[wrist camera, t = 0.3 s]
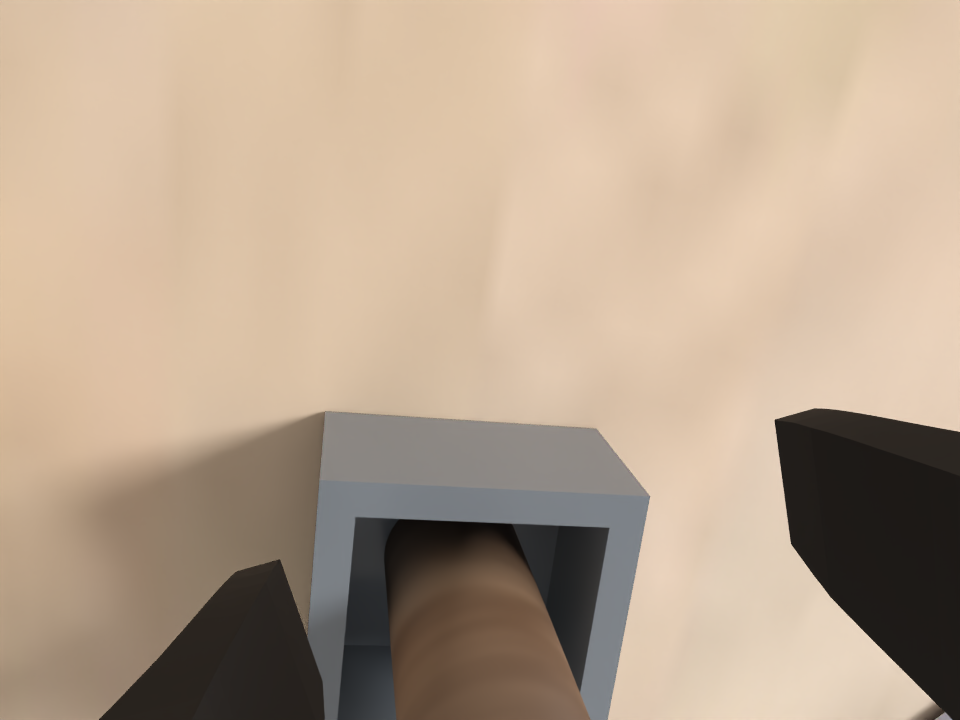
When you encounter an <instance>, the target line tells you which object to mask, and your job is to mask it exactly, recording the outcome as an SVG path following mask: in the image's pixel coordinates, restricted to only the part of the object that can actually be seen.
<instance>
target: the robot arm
mask: <svg viewBox="0 0 960 720" xmlns="http://www.w3.org/2000/svg"><path fill="white" fill-rule="evenodd" d="M775 427H776V434H777V442H778V449H779V457H780V464H781V472H782V479H783V487H784V494H785V502H786V509H787V517H788V524H789V532H790V539H791V544H792V546H793V547H794V549H795V550H796V551H797V553H798V554H799V555H800V557H801V558H802V560H803V561H804V562H805V564H806V565H807V567H808V568H809V569H810V571H811V572H812V574H813V575H814V576H815V577H816V579H817V580H818V581H819V583H820V584H821V585H822V586H823V588H824V589H825V590H826V592H827V593H828V594H829V596H830V597H831V598H832V599H833V600H834V601H835V602H836V603H837V604H838V605H839V606H840V607H841V608H842V609H843V610H844V611H845V612H846V613H847V614H848V616H849V617H850V618H851V619H852V620H853V621H854V622H855V623H856V624H857V625H858V626H859V627H860V628H861V629H862V630H863V631H864V632H865V633H866V634H867V635H868V636H869V637H870V638H871V639H872V640H873V641H874V642H875V643H876V644H877V645H878V646H879V647H880V648H881V649H882V650H883V651H884V652H885V653H886V654H887V655H888V656H889V657H890V658H891V659H892V660H893V661H894V662H895V663H896V664H897V665H898V666H899V667H900V668H901V669H902V670H903V671H904V672H905V673H906V674H907V675H908V676H909V677H910V678H911V679H912V680H913V681H914V682H915V683H916V684H917V685H918V686H919V687H920V688H921V689H922V690H923V691H924V692H925V693H926V694H927V695H928V696H929V697H930V698H931V699H932V700H933V701H934V702H935V703H936V704H937V705H938V706H939V707H940V708H941V709H942V710H943V711H944V713H943V714H942V715H940V716H939V717H938V718H936V719H935V720H960V432H957V431H951V430H946V429H940V428H935V427H930V426H924V425H919V424H914V423H908V422H903V421H898V420H893V419H887V418H882V417H877V416H871V415H866V414H860V413H853V412H847V411H840V410H832V409H811V410H807V411H804V412H800V413H797V414H793V415H790V416H786V417H783V418H779V419H776V420H775ZM99 720H325V712H324V695H323V681H322V678H321V675H320V672H319V669H318V667H317V664H316V661H315V658H314V655H313V652H312V649H311V647H310V644H309V641H308V638H307V635H306V632H305V629H304V627H303V624H302V621H301V618H300V615H299V612H298V610H297V607H296V604H295V601H294V598H293V595H292V592H291V590H290V587H289V584H288V581H287V578H286V575H285V573H284V570H283V567H282V564H281V561H280V560H276V561H272V562H269V563H265V564H262V565H258V566H255V567H251V568H248V569H244V570H241V571H237V572H235V573H234V574H233V575H232V576H231V577H230V578H229V579H228V580H227V581H226V582H225V583H224V584H223V585H222V586H221V587H220V588H219V590H218V591H217V592H216V593H215V594H214V595H213V596H212V597H211V599H210V600H209V601H208V602H207V603H206V604H205V605H204V607H203V608H202V609H201V610H200V611H199V612H198V614H197V615H196V616H195V617H194V618H193V619H192V621H191V622H190V623H189V624H188V625H187V626H186V627H185V629H184V630H183V631H182V632H181V633H180V634H179V635H178V636H177V638H176V639H175V640H174V641H173V642H172V643H171V644H170V646H169V647H168V648H167V649H166V650H165V651H164V652H163V654H162V655H161V656H160V657H159V658H158V659H157V660H156V661H155V662H154V663H153V664H152V665H151V666H150V668H149V669H148V670H147V671H146V672H145V673H144V674H143V675H142V676H141V677H140V678H139V679H138V680H137V681H136V682H135V683H134V684H133V685H132V686H131V687H130V688H129V689H128V690H127V691H126V693H125V694H124V695H123V696H122V697H121V698H120V699H119V700H118V701H117V702H116V703H115V704H114V705H113V706H112V707H111V708H110V709H109V710H108V711H107V712H106V713H105V714H104V715H103V716H102V717H101V718H100V719H99Z"/></svg>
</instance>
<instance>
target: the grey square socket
mask: <svg viewBox="0 0 960 720" xmlns="http://www.w3.org/2000/svg"><path fill="white" fill-rule="evenodd" d="M649 499H650V496H649V494H648V493H647V492H646V491H645V489H644V488H643V487H642V486H641V484H640V483H639V482H638V481H637V479H636V478H635V477H634V476H633V474H632V473H631V472H630V470H629V469H628V468H627V467H626V465H625V464H624V463H623V462H622V460H621V459H620V458H619V457H618V455H617V454H616V453H615V452H614V450H613V449H612V448H611V446H610V445H609V444H608V443H607V441H606V440H605V439H604V438H603V436H602V435H601V434H600V433H599V431H598V430H597V429H593V428H577V427H562V426H546V425H530V424H515V423H499V422H483V421H468V420H452V419H436V418H421V417H405V416H389V415H374V414H358V413H342V412H327V411H325V420H324V432H323V444H322V456H321V467H320V479H319V492H318V505H317V519H316V532H315V545H314V558H313V571H312V584H311V597H310V610H309V623H308V637H307V638H308V641H309V644H310V647H311V649H312V652H313V655H314V658H315V661H316V664H317V667H318V669H319V672H320V675H321V678H322V681H323V695H324V712H325V720H396V709H395V696H394V683H393V670H392V657H391V644H390V631H389V618H388V605H387V592H386V579H385V566H384V552H385V546H386V542H387V539H388V536H389V534H390V532H391V530H392V528H393V527H394V525H395V524H396V522H397V521H398V520H399V519H416V520H439V521H463V522H487V523H511V524H512V525H513V527H514V529H515V532H516V534H517V537H518V539H519V542H520V544H521V547H522V549H523V552H524V554H525V557H526V559H527V562H528V564H529V567H530V569H531V572H532V574H533V577H534V579H535V582H536V584H537V587H538V589H539V592H540V594H541V597H542V599H543V602H544V604H545V607H546V609H547V612H548V614H549V617H550V619H551V622H552V624H553V627H554V629H555V632H556V634H557V637H558V639H559V642H560V644H561V647H562V649H563V652H564V654H565V657H566V659H567V662H568V664H569V667H570V669H571V672H572V674H573V677H574V679H575V682H576V684H577V687H578V689H579V692H580V694H581V697H582V699H583V702H584V704H585V707H586V709H587V712H588V714H589V717H590V719H591V720H608V714H609V709H610V704H611V699H612V693H613V688H614V683H615V678H616V672H617V667H618V662H619V657H620V651H621V646H622V641H623V636H624V630H625V625H626V620H627V615H628V609H629V604H630V599H631V594H632V588H633V583H634V578H635V573H636V567H637V562H638V557H639V552H640V546H641V541H642V536H643V531H644V525H645V520H646V515H647V510H648V504H649Z"/></svg>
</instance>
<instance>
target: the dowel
mask: <svg viewBox="0 0 960 720" xmlns="http://www.w3.org/2000/svg"><path fill="white" fill-rule="evenodd" d="M384 566H385V579H386V592H387V605H388V618H389V631H390V644H391V657H392V670H393V683H394V696H395V709H396V720H591V719H590V717H589V714H588V712H587V709H586V707H585V704H584V702H583V699H582V697H581V694H580V692H579V689H578V687H577V684H576V682H575V679H574V677H573V674H572V672H571V669H570V667H569V664H568V662H567V659H566V657H565V654H564V652H563V649H562V647H561V644H560V642H559V639H558V637H557V634H556V632H555V629H554V627H553V624H552V622H551V619H550V617H549V614H548V612H547V609H546V607H545V604H544V602H543V599H542V597H541V594H540V592H539V589H538V587H537V584H536V582H535V579H534V577H533V574H532V572H531V569H530V567H529V564H528V562H527V559H526V557H525V554H524V552H523V549H522V547H521V544H520V542H519V539H518V537H517V534H516V532H515V529H514V527H513V525H512V524H511V523H487V522H463V521H439V520H416V519H399V520H398V521H397V522H396V524H395V525H394V527H393V528H392V530H391V532H390V534H389V536H388V539H387V542H386V546H385V552H384Z"/></svg>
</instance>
